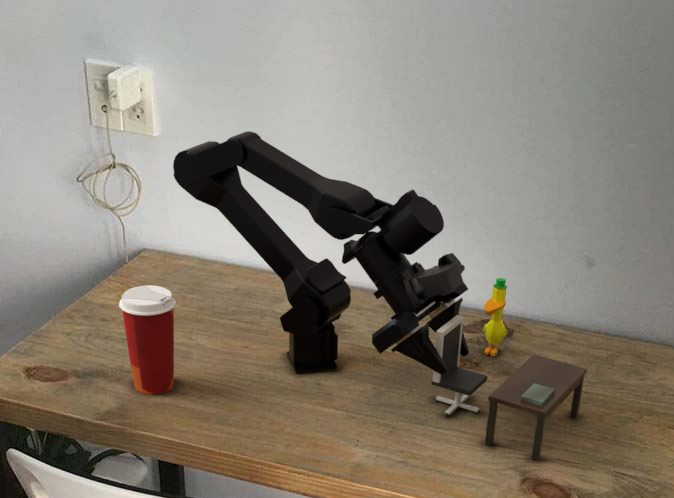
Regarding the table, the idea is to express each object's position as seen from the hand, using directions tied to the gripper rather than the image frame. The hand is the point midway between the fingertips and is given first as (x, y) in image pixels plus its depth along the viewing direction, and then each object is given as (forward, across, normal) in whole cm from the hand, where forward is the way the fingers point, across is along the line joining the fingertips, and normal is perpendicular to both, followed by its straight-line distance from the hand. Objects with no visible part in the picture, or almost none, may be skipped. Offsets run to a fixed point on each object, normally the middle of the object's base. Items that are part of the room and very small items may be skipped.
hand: (455, 364), depth 156 cm
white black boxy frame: (+5, 0, +4) cm, 7 cm away
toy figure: (+3, +18, +7) cm, 20 cm away
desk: (+14, 0, -4) cm, 14 cm away
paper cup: (-23, -19, +32) cm, 44 cm away
